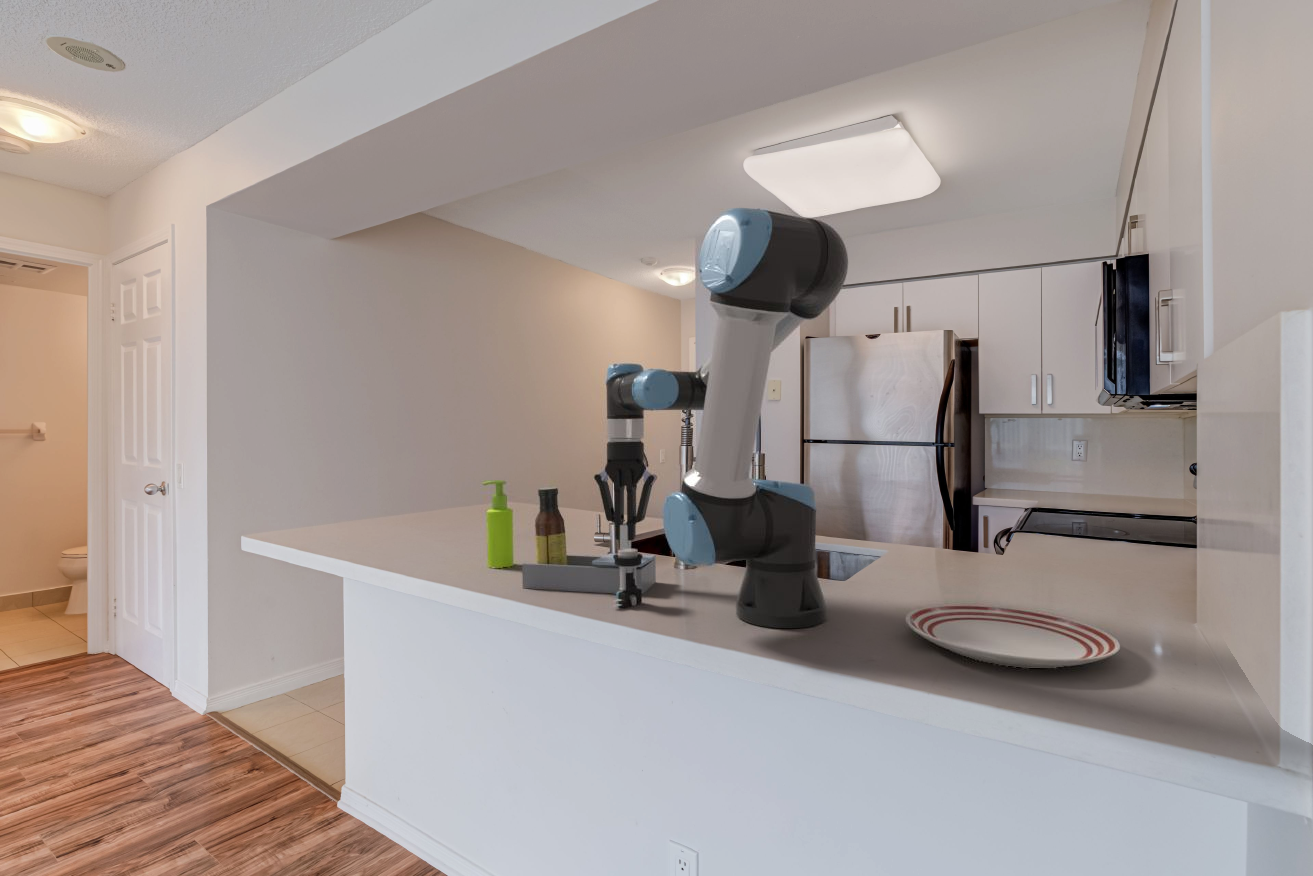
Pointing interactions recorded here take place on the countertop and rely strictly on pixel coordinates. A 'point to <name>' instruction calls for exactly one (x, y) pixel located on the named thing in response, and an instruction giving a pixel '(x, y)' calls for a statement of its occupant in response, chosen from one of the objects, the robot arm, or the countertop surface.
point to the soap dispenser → (499, 529)
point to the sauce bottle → (550, 529)
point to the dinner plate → (1012, 635)
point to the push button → (628, 578)
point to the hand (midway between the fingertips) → (625, 556)
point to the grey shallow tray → (583, 576)
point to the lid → (610, 560)
